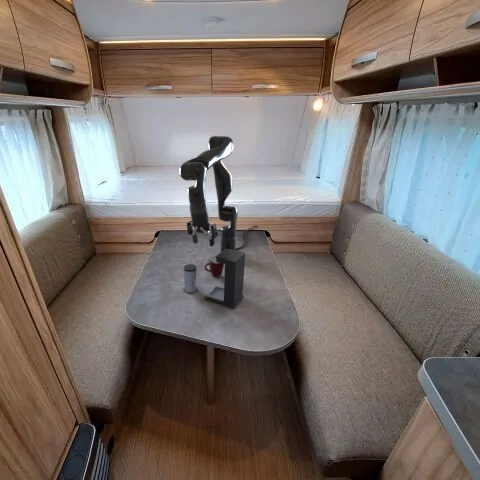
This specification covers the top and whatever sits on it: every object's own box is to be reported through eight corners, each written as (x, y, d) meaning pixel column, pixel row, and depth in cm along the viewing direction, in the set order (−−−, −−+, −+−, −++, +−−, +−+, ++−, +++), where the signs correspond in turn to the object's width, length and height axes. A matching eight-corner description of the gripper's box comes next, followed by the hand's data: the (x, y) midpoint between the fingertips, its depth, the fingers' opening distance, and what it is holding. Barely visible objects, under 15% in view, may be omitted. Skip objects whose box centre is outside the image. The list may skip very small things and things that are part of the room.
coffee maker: (205, 299, 128) (205, 254, 118) (216, 287, 137) (216, 245, 127) (233, 308, 121) (235, 262, 112) (242, 296, 130) (245, 252, 121)
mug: (204, 279, 144) (204, 263, 140) (204, 271, 151) (204, 256, 147) (223, 279, 144) (224, 263, 140) (223, 272, 151) (223, 256, 147)
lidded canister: (186, 285, 139) (186, 263, 134) (198, 286, 137) (197, 264, 132) (182, 291, 133) (182, 269, 128) (194, 293, 132) (194, 270, 127)
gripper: (217, 208, 111) (221, 242, 118) (190, 206, 118) (195, 238, 126) (208, 215, 106) (213, 250, 113) (180, 212, 113) (186, 245, 120)
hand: (204, 244), depth 119 cm, fingers open, 8 cm apart
